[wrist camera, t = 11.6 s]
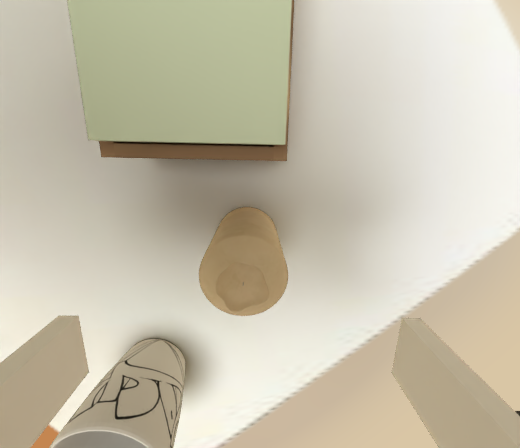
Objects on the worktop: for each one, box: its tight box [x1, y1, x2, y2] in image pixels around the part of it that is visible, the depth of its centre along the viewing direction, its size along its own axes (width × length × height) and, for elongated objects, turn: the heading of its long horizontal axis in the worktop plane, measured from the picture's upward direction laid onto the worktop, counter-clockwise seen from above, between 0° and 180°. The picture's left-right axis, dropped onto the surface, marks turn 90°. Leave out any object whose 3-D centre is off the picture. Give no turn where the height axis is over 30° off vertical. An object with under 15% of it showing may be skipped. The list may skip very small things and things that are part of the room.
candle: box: [199, 207, 288, 316], centre depth 19 cm, size 6×6×10 cm
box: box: [99, 0, 294, 161], centre depth 17 cm, size 14×11×7 cm
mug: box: [50, 339, 185, 448], centre depth 23 cm, size 11×8×10 cm
